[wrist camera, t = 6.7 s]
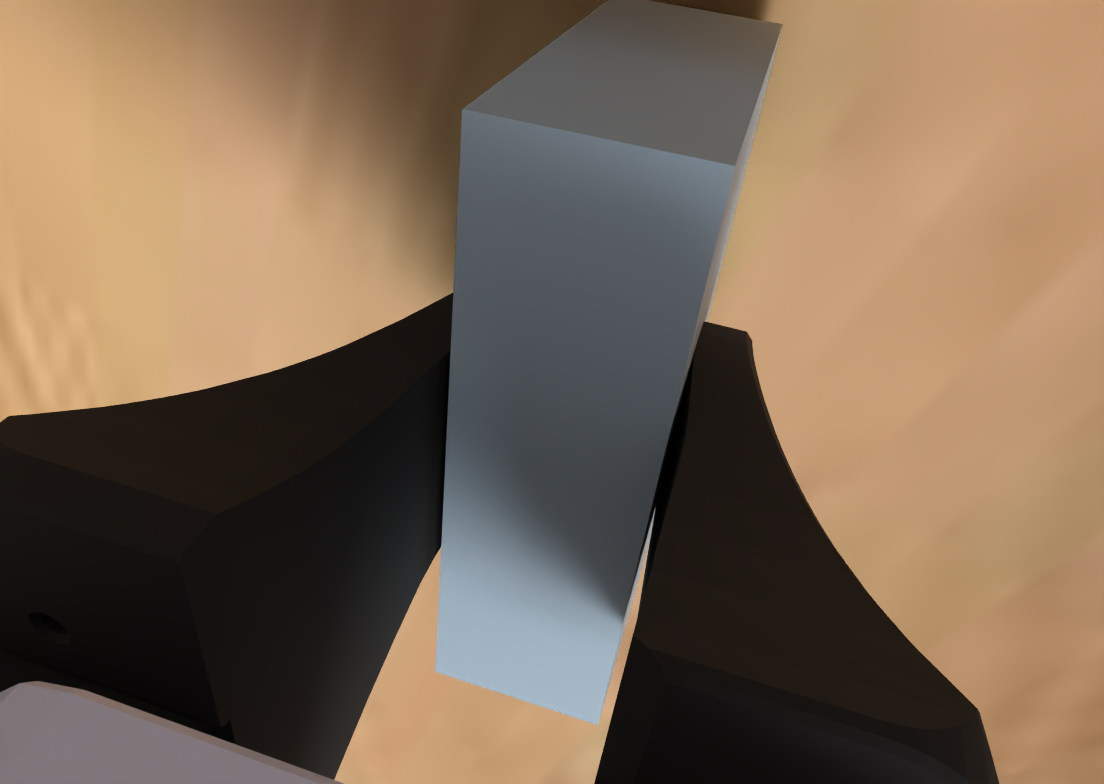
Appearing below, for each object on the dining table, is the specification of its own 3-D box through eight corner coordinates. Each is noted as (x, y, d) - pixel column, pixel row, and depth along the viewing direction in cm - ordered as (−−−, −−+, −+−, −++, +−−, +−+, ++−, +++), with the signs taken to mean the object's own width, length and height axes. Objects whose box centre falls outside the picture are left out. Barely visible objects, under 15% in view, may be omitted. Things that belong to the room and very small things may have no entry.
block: (782, 24, 12) (735, 165, 7) (671, 461, 16) (597, 724, 12) (615, -6, 12) (462, 108, 7) (553, 429, 17) (435, 671, 12)
